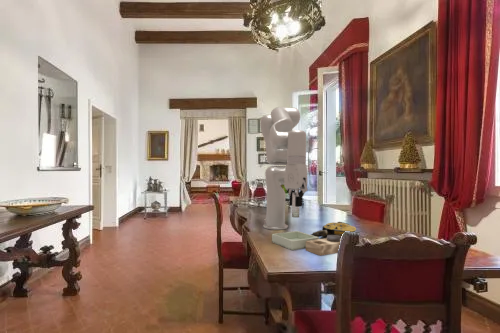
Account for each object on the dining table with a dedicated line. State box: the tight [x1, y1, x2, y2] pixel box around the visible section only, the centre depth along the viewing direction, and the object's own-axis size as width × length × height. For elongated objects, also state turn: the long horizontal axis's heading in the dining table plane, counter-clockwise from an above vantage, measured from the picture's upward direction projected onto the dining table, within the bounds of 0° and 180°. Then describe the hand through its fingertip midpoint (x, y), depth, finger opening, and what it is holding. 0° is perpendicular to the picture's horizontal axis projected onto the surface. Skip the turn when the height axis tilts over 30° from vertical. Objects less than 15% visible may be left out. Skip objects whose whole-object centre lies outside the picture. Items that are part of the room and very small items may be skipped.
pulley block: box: [310, 221, 363, 239], centre depth 145 cm, size 14×6×30 cm
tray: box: [271, 230, 320, 251], centre depth 129 cm, size 14×14×4 cm
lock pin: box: [291, 192, 300, 219], centre depth 128 cm, size 3×3×10 cm
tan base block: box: [305, 235, 342, 256], centre depth 120 cm, size 14×8×5 cm, turn 120°
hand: (295, 205), depth 128 cm, fingers closed on lock pin, 3 cm apart
